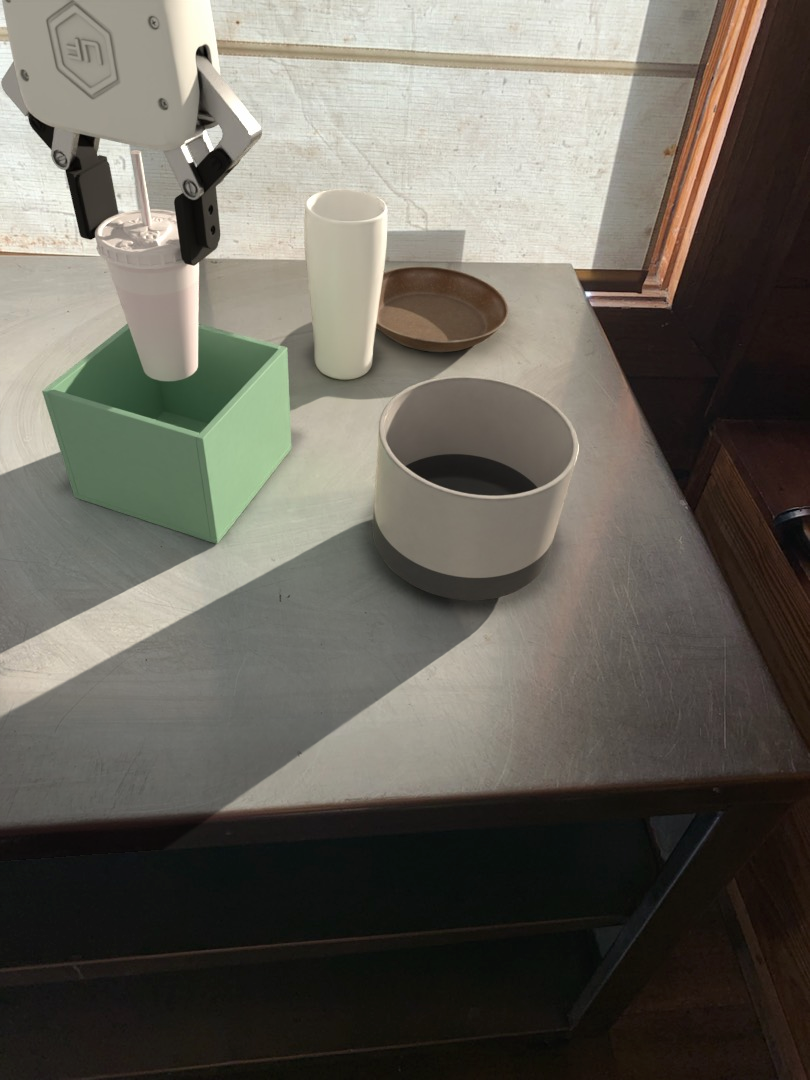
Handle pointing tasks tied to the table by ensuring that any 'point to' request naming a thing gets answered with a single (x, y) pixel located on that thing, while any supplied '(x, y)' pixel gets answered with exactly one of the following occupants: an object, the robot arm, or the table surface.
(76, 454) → the bin
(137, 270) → the smoothie
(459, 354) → the table surface
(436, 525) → the planter
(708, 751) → the table surface
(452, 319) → the saucer
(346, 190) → the white cup
